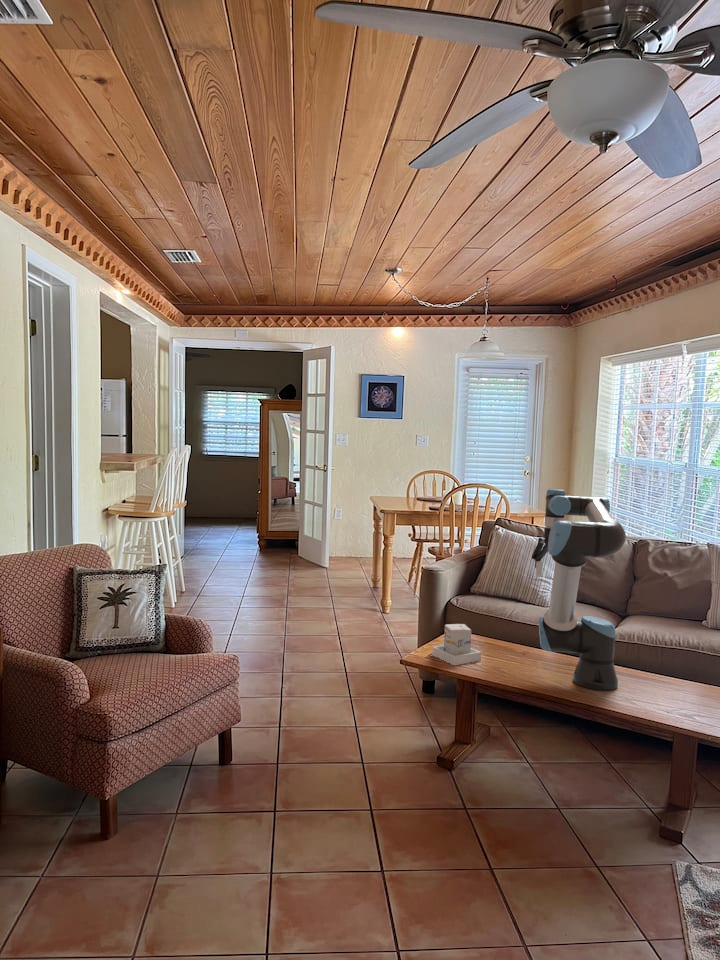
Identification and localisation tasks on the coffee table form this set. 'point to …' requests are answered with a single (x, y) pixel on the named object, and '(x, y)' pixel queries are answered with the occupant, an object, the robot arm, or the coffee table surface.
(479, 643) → the coffee table surface
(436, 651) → the open white box
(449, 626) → the ink box
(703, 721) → the coffee table surface
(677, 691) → the coffee table surface
